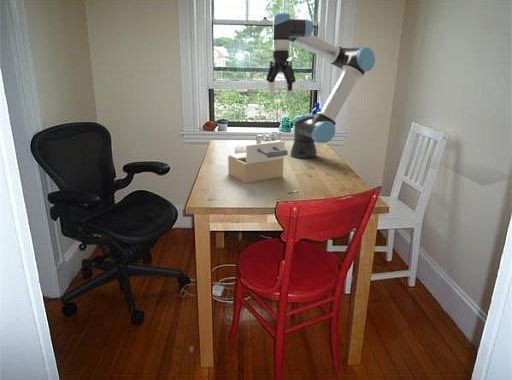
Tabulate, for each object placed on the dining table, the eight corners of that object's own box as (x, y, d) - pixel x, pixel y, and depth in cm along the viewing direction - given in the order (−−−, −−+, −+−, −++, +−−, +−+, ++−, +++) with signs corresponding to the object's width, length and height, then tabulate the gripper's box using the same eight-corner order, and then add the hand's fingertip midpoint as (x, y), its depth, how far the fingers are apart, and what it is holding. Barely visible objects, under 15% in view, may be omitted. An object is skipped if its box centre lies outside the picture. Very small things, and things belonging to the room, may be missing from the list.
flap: (283, 140, 161) (297, 146, 153) (282, 158, 164) (296, 164, 156) (246, 145, 152) (259, 151, 144) (246, 163, 155) (258, 170, 147)
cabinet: (264, 168, 180) (264, 150, 177) (282, 177, 167) (283, 157, 164) (228, 174, 170) (228, 154, 167) (245, 183, 157) (245, 162, 154)
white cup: (236, 170, 178) (236, 150, 175) (233, 165, 185) (232, 146, 182) (252, 168, 180) (252, 149, 177) (248, 165, 187) (248, 146, 184)
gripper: (259, 50, 177) (259, 95, 184) (291, 48, 157) (289, 99, 164) (272, 51, 180) (271, 94, 187) (304, 49, 161) (302, 98, 168)
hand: (280, 96), depth 176 cm, fingers open, 13 cm apart
